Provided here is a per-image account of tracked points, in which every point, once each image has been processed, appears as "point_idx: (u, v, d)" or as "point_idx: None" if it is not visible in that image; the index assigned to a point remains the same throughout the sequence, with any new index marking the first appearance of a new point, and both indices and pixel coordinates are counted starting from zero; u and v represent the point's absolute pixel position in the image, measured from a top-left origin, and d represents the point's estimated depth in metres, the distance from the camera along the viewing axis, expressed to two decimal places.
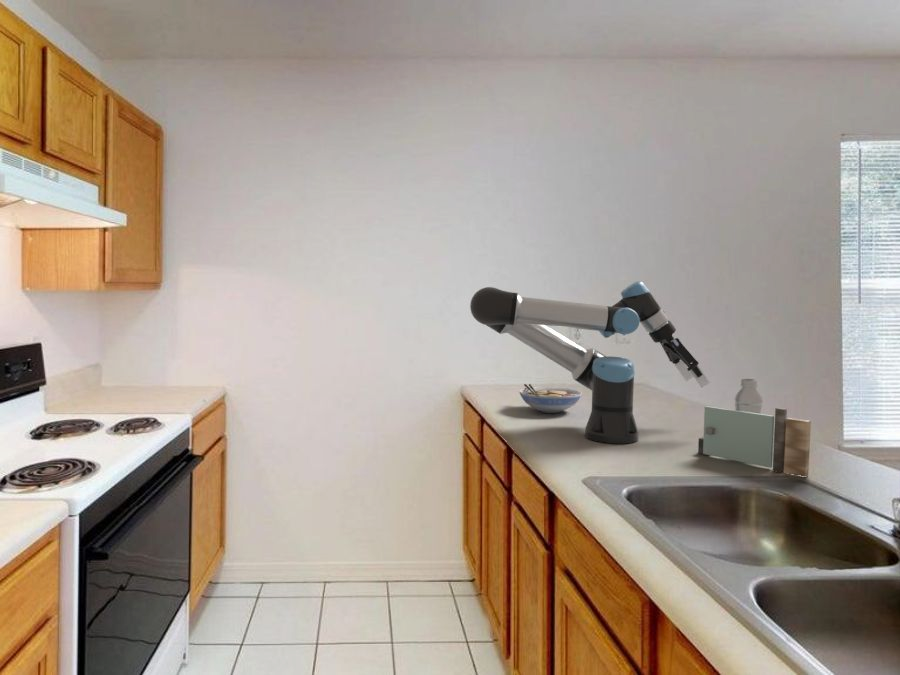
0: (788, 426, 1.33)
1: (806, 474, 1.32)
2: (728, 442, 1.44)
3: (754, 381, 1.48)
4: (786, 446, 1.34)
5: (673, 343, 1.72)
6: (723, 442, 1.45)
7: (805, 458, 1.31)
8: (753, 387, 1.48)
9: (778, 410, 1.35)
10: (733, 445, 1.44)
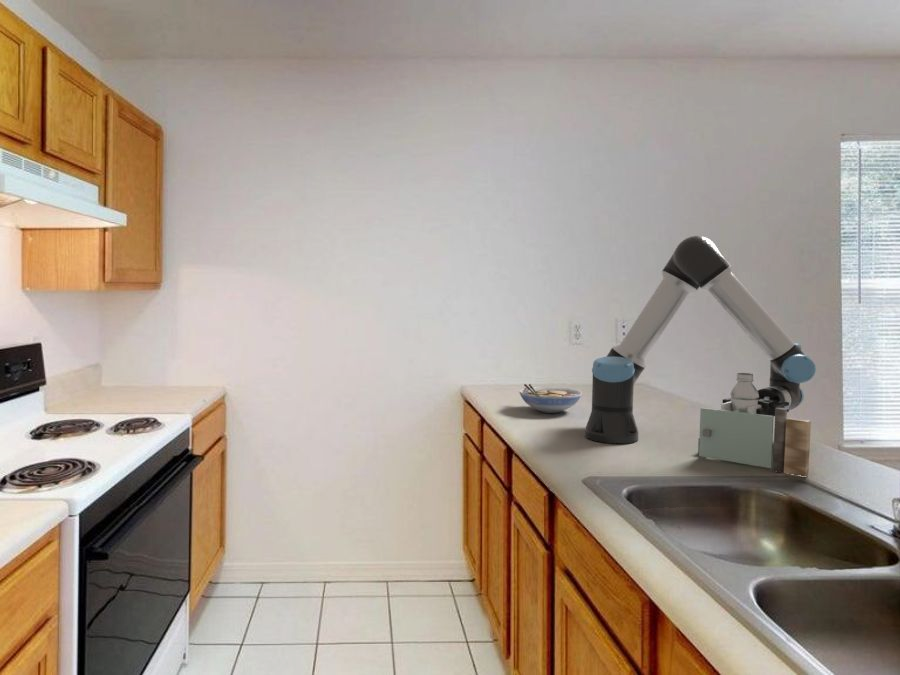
0: (788, 426, 1.33)
1: (806, 474, 1.32)
2: (726, 443, 1.43)
3: (750, 375, 1.44)
4: (786, 446, 1.34)
5: (788, 404, 1.49)
6: (720, 444, 1.44)
7: (805, 458, 1.31)
8: (749, 382, 1.44)
9: (778, 410, 1.35)
10: (731, 446, 1.42)
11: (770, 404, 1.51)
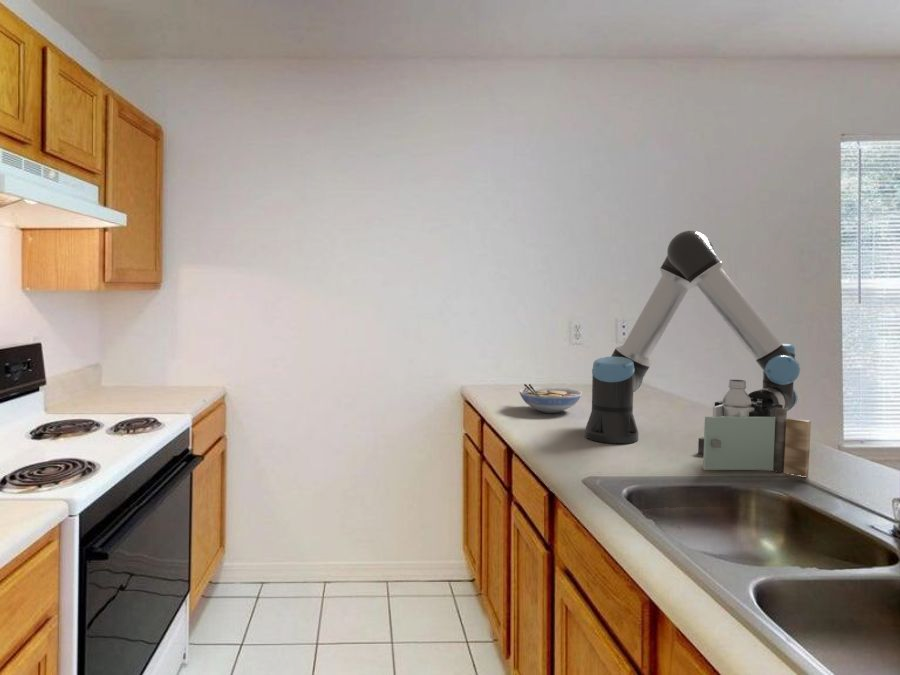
0: (788, 426, 1.33)
1: (806, 474, 1.32)
2: (732, 452, 1.35)
3: (742, 382, 1.40)
4: (786, 446, 1.34)
5: (781, 407, 1.44)
6: (727, 453, 1.35)
7: (805, 458, 1.31)
8: (741, 389, 1.40)
9: (778, 410, 1.35)
10: (737, 453, 1.35)
11: (763, 407, 1.46)
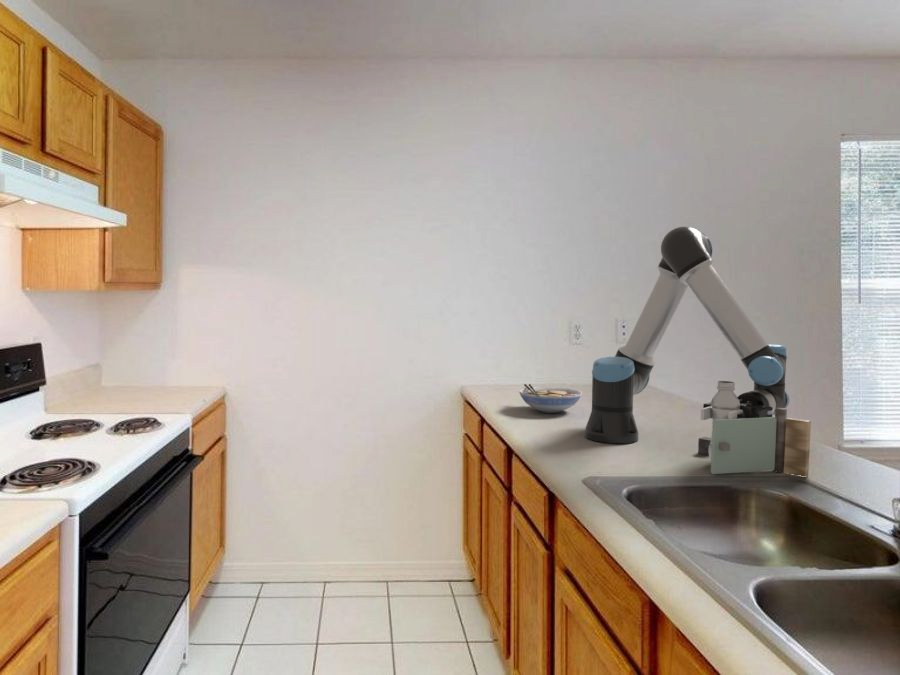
0: (788, 426, 1.33)
1: (806, 474, 1.32)
2: (738, 454, 1.33)
3: (731, 383, 1.37)
4: (786, 446, 1.34)
5: (771, 409, 1.42)
6: (733, 455, 1.33)
7: (805, 458, 1.31)
8: (730, 390, 1.38)
9: (778, 410, 1.35)
10: (742, 456, 1.33)
11: (753, 409, 1.44)
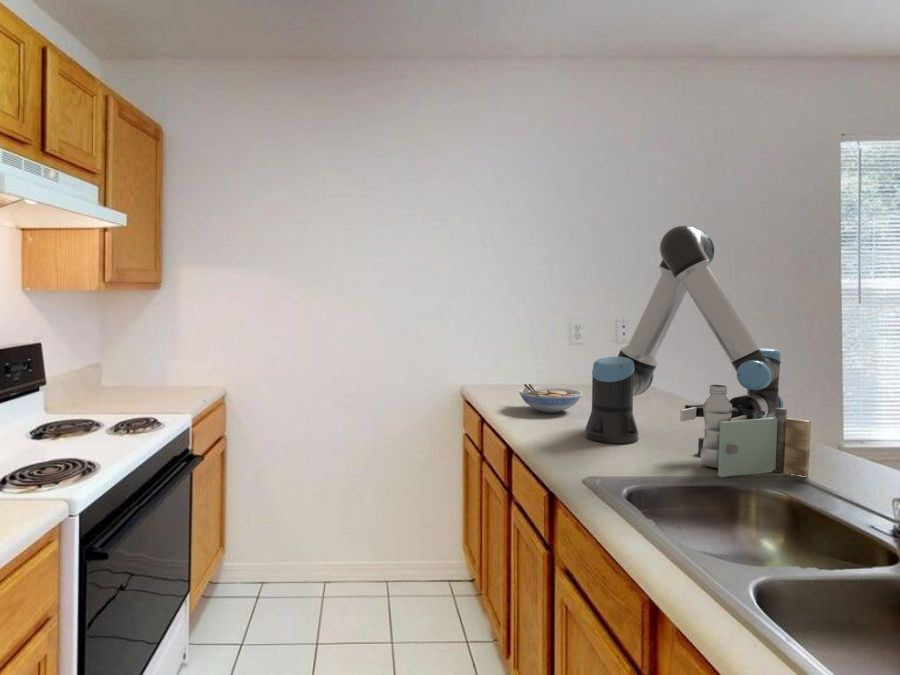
0: (788, 426, 1.33)
1: (806, 474, 1.32)
2: (743, 456, 1.32)
3: (723, 387, 1.36)
4: (786, 446, 1.34)
5: (764, 413, 1.41)
6: (739, 457, 1.31)
7: (805, 458, 1.31)
8: (722, 394, 1.37)
9: (778, 410, 1.35)
10: (747, 457, 1.32)
11: None
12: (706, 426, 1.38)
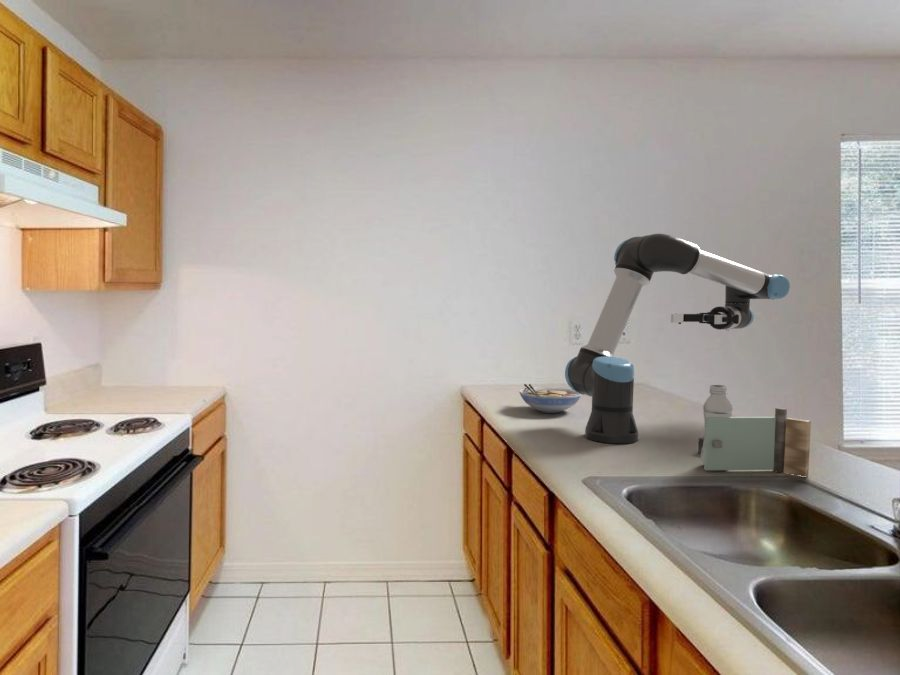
0: (788, 426, 1.33)
1: (806, 474, 1.32)
2: (733, 452, 1.35)
3: (723, 387, 1.36)
4: (786, 446, 1.34)
5: None
6: (727, 453, 1.35)
7: (805, 458, 1.31)
8: (722, 394, 1.37)
9: (778, 410, 1.35)
10: (737, 454, 1.35)
11: None
12: None
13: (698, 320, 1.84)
